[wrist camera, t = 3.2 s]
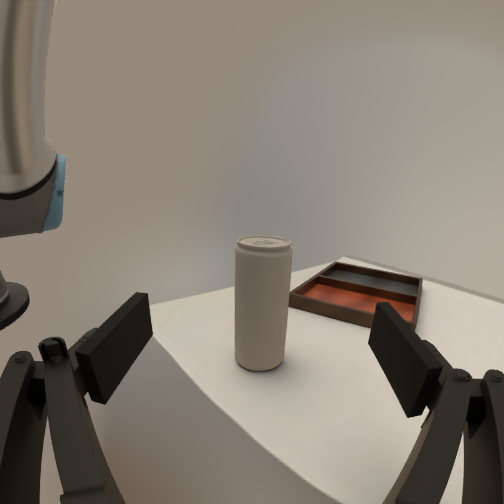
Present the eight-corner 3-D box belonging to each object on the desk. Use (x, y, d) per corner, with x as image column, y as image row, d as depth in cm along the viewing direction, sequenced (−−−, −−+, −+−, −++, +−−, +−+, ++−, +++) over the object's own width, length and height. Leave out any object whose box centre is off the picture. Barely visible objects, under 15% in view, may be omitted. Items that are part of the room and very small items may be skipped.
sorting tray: (286, 305, 40) (287, 293, 39) (334, 270, 56) (335, 261, 55) (412, 337, 30) (416, 324, 29) (420, 288, 46) (422, 278, 45)
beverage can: (293, 362, 27) (304, 243, 24) (252, 380, 24) (257, 250, 21) (264, 341, 30) (269, 233, 27) (225, 354, 28) (224, 238, 25)
